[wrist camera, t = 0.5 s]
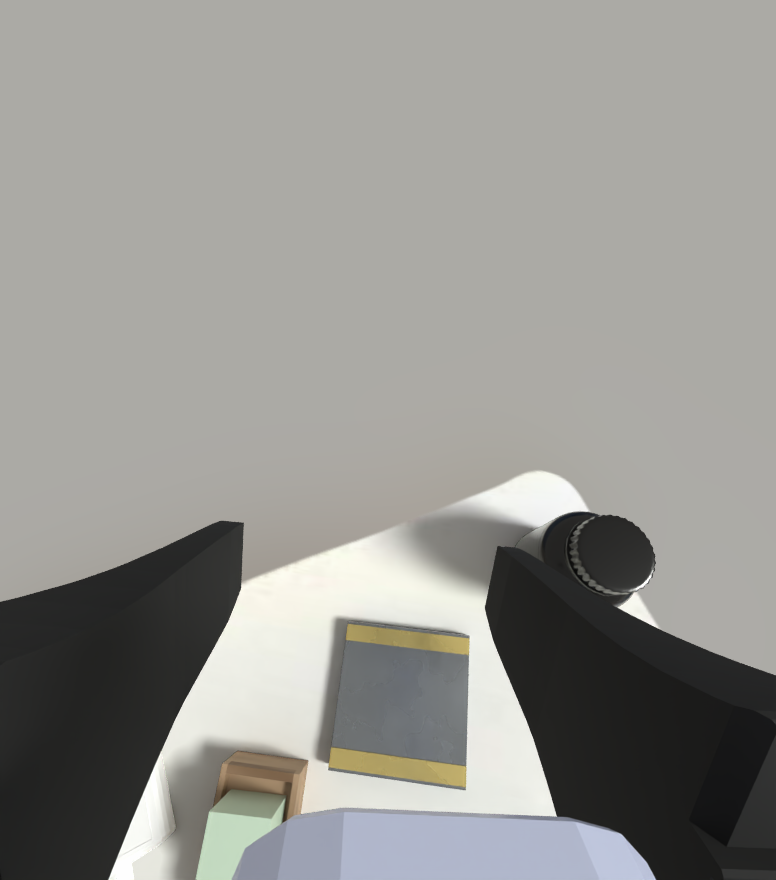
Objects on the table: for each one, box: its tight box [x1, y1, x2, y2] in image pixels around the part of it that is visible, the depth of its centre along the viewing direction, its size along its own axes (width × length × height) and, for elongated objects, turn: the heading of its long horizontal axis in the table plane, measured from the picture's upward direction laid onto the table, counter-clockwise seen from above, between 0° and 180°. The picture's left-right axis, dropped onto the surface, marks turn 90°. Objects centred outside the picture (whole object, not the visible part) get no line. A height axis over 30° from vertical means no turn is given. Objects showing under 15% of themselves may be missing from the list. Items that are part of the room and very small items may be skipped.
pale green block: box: [196, 789, 287, 880], centre depth 25 cm, size 5×4×4 cm
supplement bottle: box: [515, 511, 656, 607], centre depth 30 cm, size 7×7×12 cm
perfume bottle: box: [109, 751, 176, 880], centre depth 29 cm, size 8×2×12 cm
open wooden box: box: [213, 751, 308, 822], centre depth 28 cm, size 8×6×3 cm
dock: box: [328, 621, 469, 790], centre depth 31 cm, size 10×10×1 cm
